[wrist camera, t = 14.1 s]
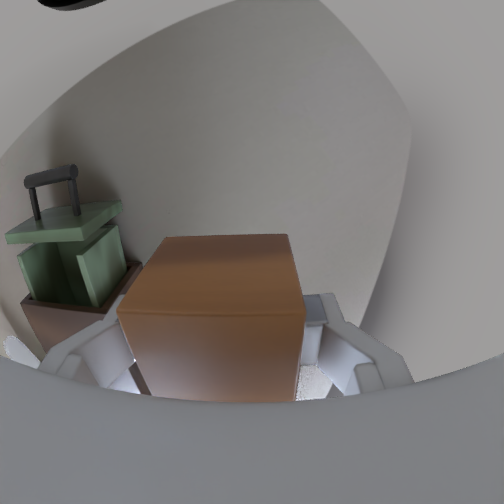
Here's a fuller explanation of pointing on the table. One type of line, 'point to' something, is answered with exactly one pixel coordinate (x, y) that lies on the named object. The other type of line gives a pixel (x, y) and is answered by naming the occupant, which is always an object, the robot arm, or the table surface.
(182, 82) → the table surface
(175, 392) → the block
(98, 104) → the table surface
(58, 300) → the drawer
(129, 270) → the cabinet
